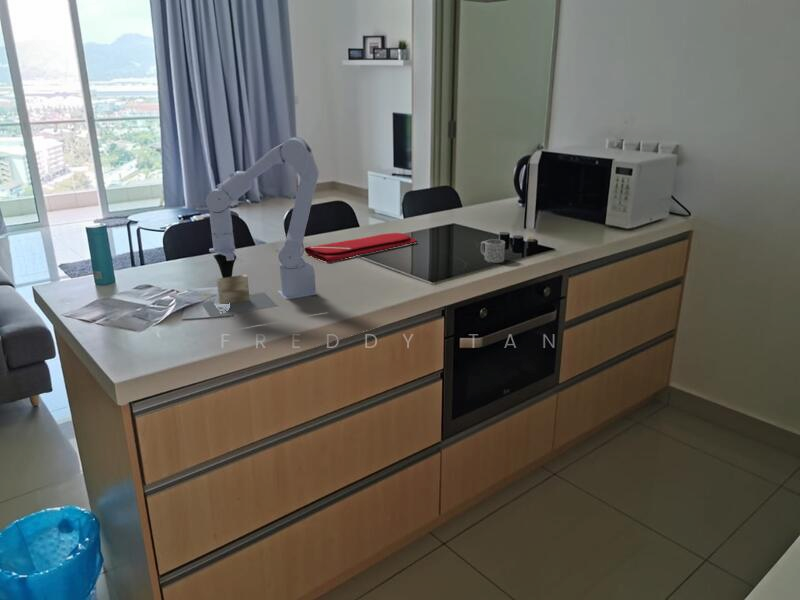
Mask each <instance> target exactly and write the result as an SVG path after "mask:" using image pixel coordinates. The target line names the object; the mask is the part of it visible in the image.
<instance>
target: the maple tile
mask: <svg viewBox="0 0 800 600" xmlns="http://www.w3.org/2000/svg"><path fill="white" fill-rule="evenodd" d="M248 279H249V277H248V275H247V274H240V275H232V277H226V278H223V277H220V278H216V285H217V293H218V300H219V303H220V304H229V303H235V302H241V301H247V300H250V297H249V295H250V288H249V280H248Z"/></svg>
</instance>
